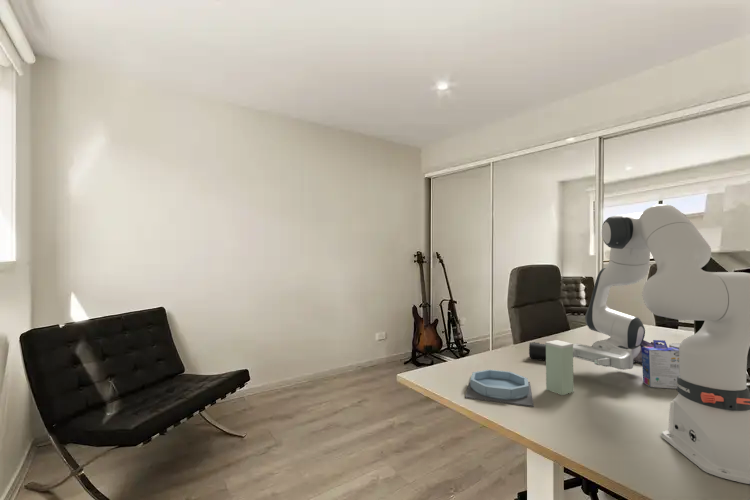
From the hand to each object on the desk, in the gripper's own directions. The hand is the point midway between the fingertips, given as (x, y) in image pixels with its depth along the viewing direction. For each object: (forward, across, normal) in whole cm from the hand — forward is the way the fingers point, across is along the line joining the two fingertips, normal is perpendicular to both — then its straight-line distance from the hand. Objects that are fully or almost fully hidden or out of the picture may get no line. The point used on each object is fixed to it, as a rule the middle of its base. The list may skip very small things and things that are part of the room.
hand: (582, 358), depth 119 cm
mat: (+28, -10, +8) cm, 31 cm away
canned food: (-37, +13, +9) cm, 40 cm away
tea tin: (+12, 0, +8) cm, 15 cm away
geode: (-44, -5, +9) cm, 45 cm away
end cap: (-12, -24, +9) cm, 28 cm away
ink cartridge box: (-21, +14, +9) cm, 27 cm away
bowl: (+28, -10, +8) cm, 31 cm away
